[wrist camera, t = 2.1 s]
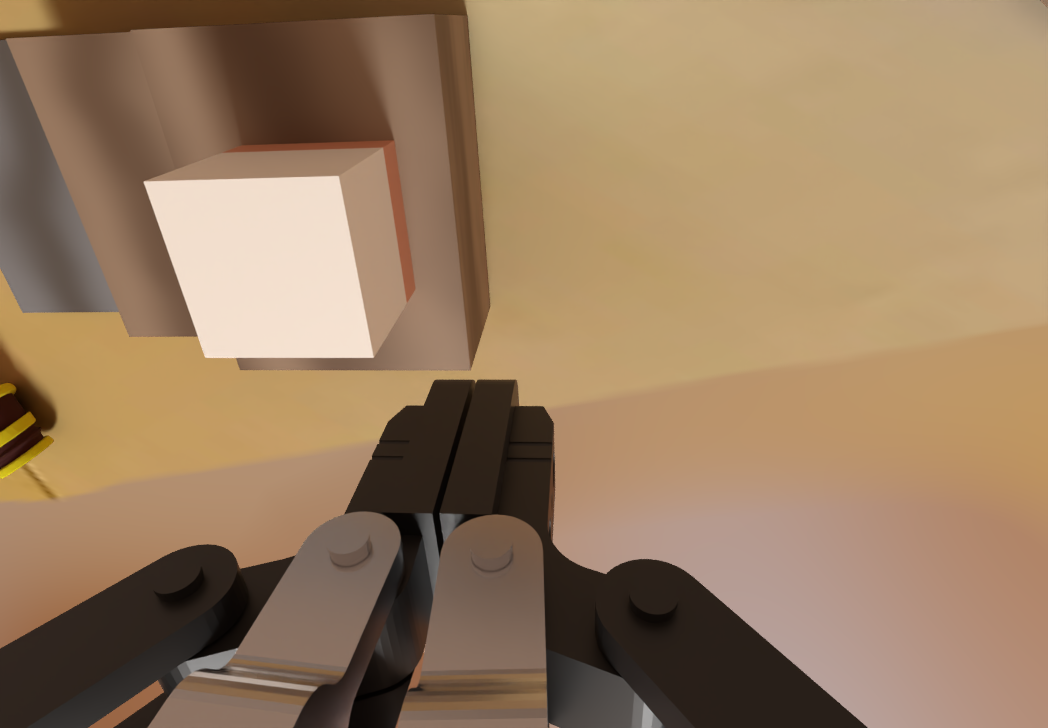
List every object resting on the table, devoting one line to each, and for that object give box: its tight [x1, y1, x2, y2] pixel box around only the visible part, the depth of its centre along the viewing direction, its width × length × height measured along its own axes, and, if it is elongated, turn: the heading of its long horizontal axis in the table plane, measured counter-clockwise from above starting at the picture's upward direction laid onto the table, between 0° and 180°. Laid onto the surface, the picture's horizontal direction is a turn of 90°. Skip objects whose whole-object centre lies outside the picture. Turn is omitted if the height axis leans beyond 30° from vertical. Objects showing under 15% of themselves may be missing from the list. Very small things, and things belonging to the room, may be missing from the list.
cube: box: [143, 140, 416, 358], centre depth 22 cm, size 6×6×6 cm
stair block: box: [0, 14, 490, 370], centre depth 28 cm, size 28×14×7 cm, turn 93°
